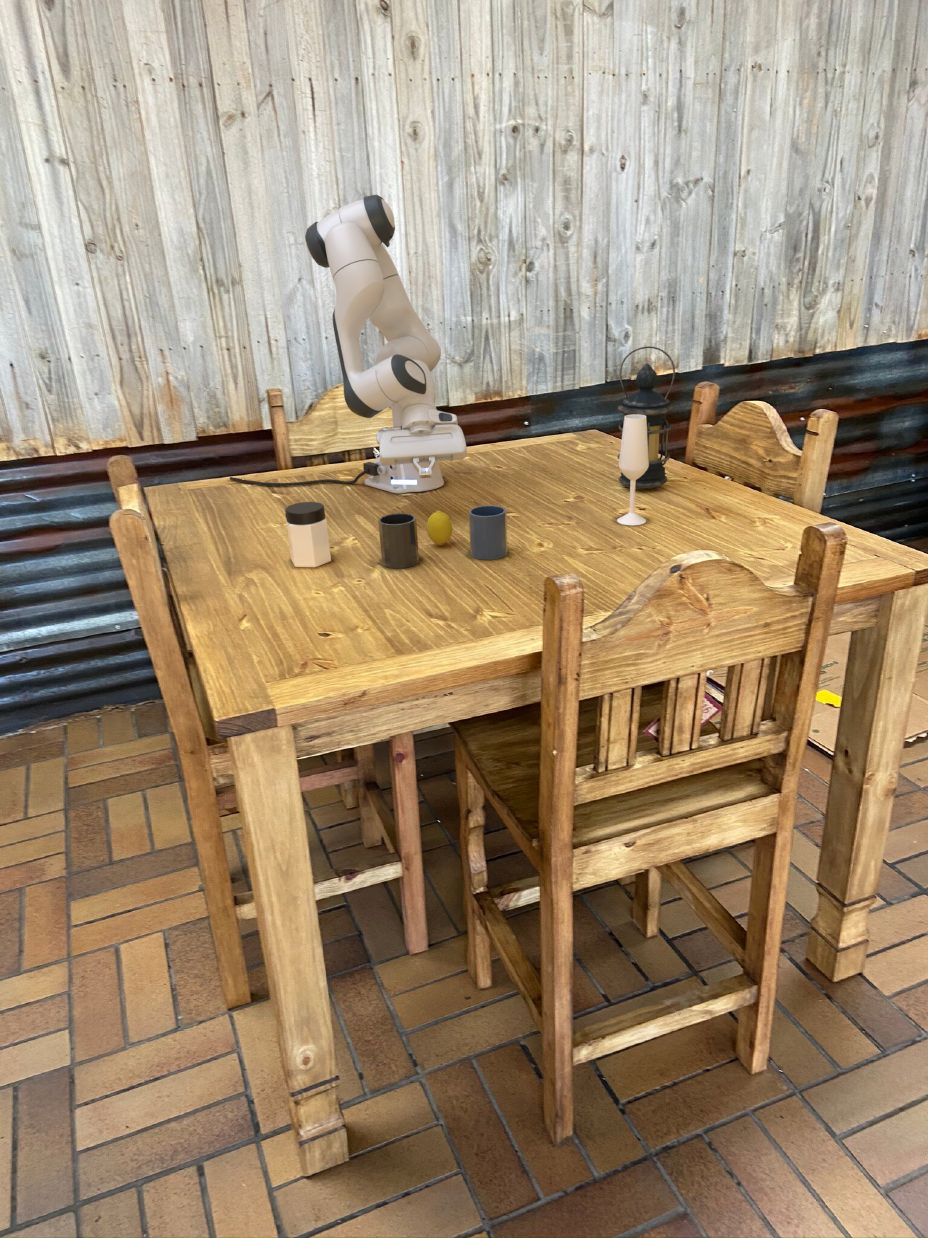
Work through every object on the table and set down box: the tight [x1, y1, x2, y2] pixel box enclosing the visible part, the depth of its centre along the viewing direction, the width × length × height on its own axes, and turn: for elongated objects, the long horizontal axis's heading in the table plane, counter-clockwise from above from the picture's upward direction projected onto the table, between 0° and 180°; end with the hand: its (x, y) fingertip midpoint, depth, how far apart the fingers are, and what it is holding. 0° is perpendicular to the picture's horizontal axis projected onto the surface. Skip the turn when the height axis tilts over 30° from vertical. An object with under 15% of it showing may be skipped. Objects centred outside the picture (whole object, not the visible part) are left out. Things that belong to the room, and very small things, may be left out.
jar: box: [284, 501, 332, 568], centre depth 188 cm, size 9×8×12 cm
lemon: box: [426, 510, 453, 546], centre depth 194 cm, size 6×6×8 cm
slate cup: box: [468, 504, 508, 561], centre depth 187 cm, size 8×8×10 cm
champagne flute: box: [616, 414, 649, 526], centre depth 200 cm, size 7×7×24 cm
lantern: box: [617, 345, 676, 491], centre depth 222 cm, size 14×13×35 cm
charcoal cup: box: [377, 512, 420, 569], centre depth 185 cm, size 8×8×10 cm
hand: (425, 476), depth 202 cm, fingers closed
